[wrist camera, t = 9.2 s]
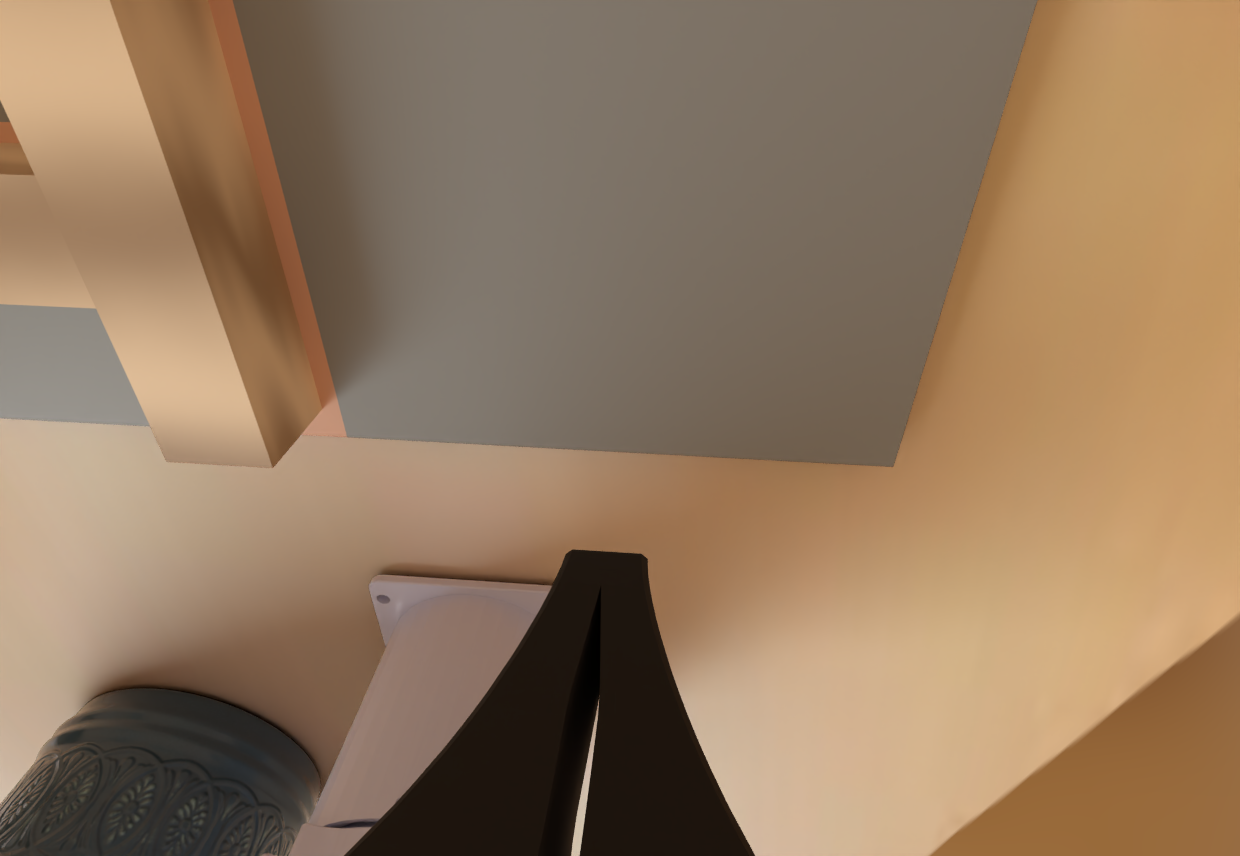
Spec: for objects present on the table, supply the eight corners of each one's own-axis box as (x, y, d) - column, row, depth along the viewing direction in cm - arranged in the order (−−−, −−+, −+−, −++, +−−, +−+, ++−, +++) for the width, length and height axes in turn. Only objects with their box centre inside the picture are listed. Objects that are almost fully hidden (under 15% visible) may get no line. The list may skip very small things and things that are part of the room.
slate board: (884, 447, 21) (893, 466, 20) (-70, 397, 22) (-98, 413, 22) (1053, -129, 13) (1079, -136, 12) (-427, -141, 15) (-494, -149, 14)
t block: (322, 409, 20) (272, 467, 18) (-15, 391, 21) (-109, 445, 18) (185, -81, 14) (75, -96, 11) (-306, -88, 14) (-514, -103, 12)
